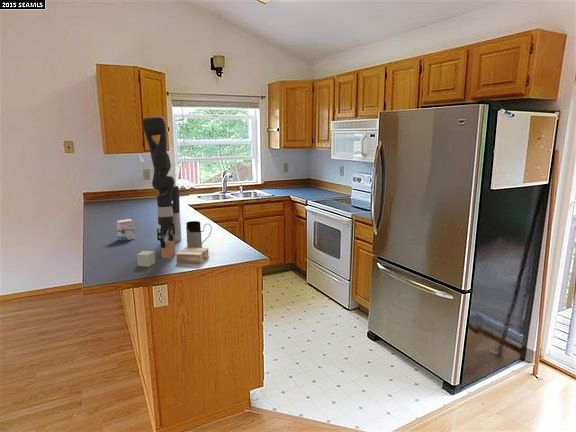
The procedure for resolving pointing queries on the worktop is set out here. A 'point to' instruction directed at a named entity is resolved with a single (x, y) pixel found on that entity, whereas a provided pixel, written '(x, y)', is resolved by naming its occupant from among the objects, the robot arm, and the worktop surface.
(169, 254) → the terracotta block
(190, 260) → the birch block
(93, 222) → the worktop surface
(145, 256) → the sage cube
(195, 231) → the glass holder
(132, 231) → the ink box
